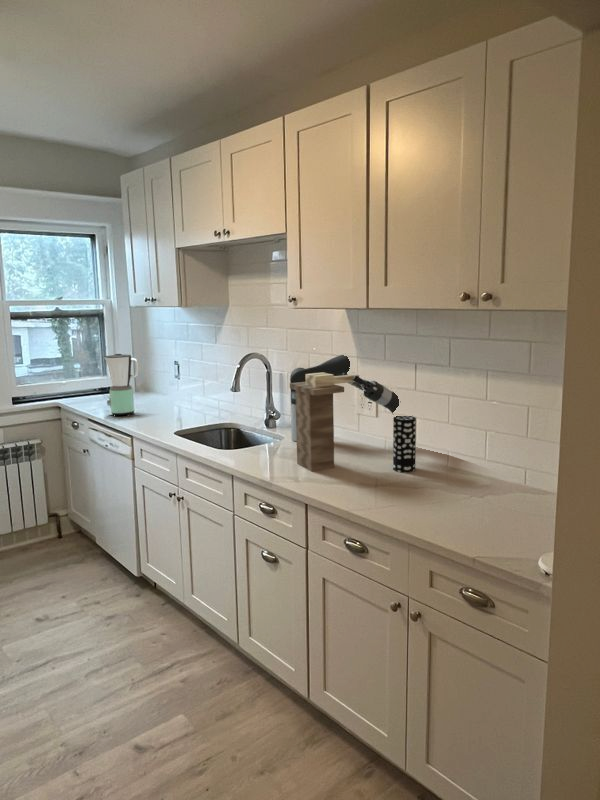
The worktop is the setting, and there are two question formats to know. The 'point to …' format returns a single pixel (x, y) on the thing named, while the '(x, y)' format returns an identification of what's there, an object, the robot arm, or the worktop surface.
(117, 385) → the mint green blender
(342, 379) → the beige stepped hammer block
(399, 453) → the spotted tube
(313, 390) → the wooden t-shaped post
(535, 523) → the worktop surface
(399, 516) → the worktop surface
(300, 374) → the robot arm
